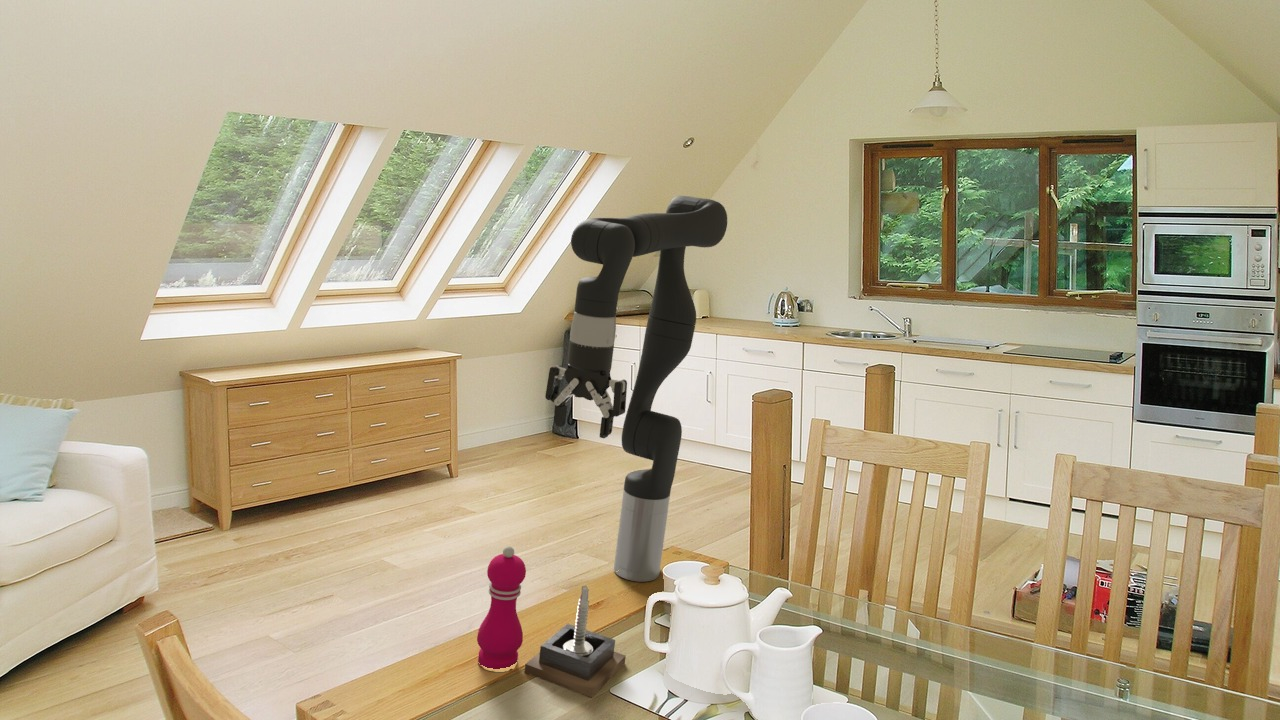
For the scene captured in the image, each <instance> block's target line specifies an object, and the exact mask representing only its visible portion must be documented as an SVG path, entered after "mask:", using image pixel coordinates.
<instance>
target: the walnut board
mask: <svg viewBox="0 0 1280 720" xmlns="http://www.w3.org/2000/svg"><path fill="white" fill-rule="evenodd" d="M539 656H540V651H539V652H538V653H537V654H536V655H534V656H533V657H531V659H529V660H528V661H527V662H526V663H525V665H524V673H525V674H527V675H531V676H533V677H536V678H537V679H541V680H543V681H546V682H548V683H551V684H554V685H557V686H560V687H562V688H564V689H567V690H570V691H573V692H576V693H578V694H580V695H584V696H586V697H589V698H590V699H591V698H593V697H594V696H595V695H596V694H597V693H598V692H599V690H601V689H602V688H603V687H604V686H605V685H606V683H607V682H608V681H609V680H610V679H612V677H613V676H615V674H617V672H618V671H619V670H620V669H622V668H623V666H625V664H626V658H627V657H626V656H627V655H625V654H623V653H619V652H617V651H614V655H613V657H612V658H611V659H610V660H609V661H608V662H607V663H606V664H605V665H604V666H603V667H602V668H601V669H600V670H599V671H598V672H597V673H596V674H595V675H594V676H593V677H592V678H591V679H590V680H589V681H587V680H584V679H581V678H579V677H576V676H573V675H570V674H568V673H565V672H562V671H560V670H557V669H554V668H551V667H549V666H546V665H543V664H541V663H539ZM589 656H590V655H589ZM589 656H587V657H586V658H588V657H589Z"/></svg>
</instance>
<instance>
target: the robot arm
mask: <svg viewBox="0 0 1280 720" xmlns="http://www.w3.org/2000/svg"><path fill="white" fill-rule="evenodd" d="M727 228H728V213H727V211H726V207H725V206H724V205H723V204H722V203H721V202H719V201H717V200H714V199H710V198H702V197H694V196H690V195H689V196H688V195H676V196H675V197H673V198H672V199H671V201H670V202H669V203H668V205H667V208H666V211H665V212H648V213H647V212H646V213H639V214H634V215H629V216H626V217H592V218H588V219H584V220H583V221H581V222H580V223H578V225H577V226H576V227H575V228H574V230H573V232H572V234H571V238H570V244H571V249H572V251H573V253H574V254H575V255H576V257H578V259H580V260H582V261H584V262H589V263H594V264H598V265H602V266H601V267H602V268H601V269H600V272H599V273H598V275H597V276H586V277H585V276H584V277H583V278H580V280H578V283H577V286H576V296H575V304H574V310H573V311H574V312H573V317H572V321H571V325H570V326H571V327H570V331H569V342H568V353H567V362H566V363H567V367H566V368H565V367H563V366H562V365H561V364H558V365H557V364H556V365H554V366H551V367H550V368H549V372H548V376H547V377H548V378H547V383H546V384H547V385H546V390H545V399H546V401H551V402H552V403H553V404H554V415H553V421H554V423H555V427H558V428H562V427H564V426H565V425H566V421H567V419H566V417H567V411H568V404H566V403H567V402H568V401H569V400H570V399H571V398H572V397H573V396H574V397H575V398H579V399H580V398H584V399H585V400H587V401H594V404H595V406H596V407H598V408H599V411H600V412H601V415H602V417H601V421H600V428H599V429H600V430H599V438H600V439H607V438H609V435H611V434H612V432H613V426H614V418H615V417H616V418H617V417H619V416H621V415H623V414H625V413H626V414H625V418H624V421H623V426H622V432H621V447H622V449H623V451H624V452H626V453H627V454H630V455H633V456H636V457H638V458H639V457H640V458H643V459H646V460H650V461H652V466H651V468H648V469H638V470H634V471H630V472H629V473H627V474H626V476H625V479H624V484H623V491H622V492H623V493H622V499H621V508H620V518H619V524H618V530H617V531H618V532H617V539H616V549H615V557H614V566H613V572H614V573H615V574H616V575H617V576H619V577H620V578H623V579H625V580H627V581H632V582H638V583H641V582H651V581H654V580H657V579H658V578H659V576H660V571H661V563H662V558H663V550H664V543H665V535H666V529H667V520H668V513H669V512H668V511H669V504H670V498H671V497H670V496H671V493H672V492H671V491H672V486H673V482H674V479H675V475H676V469H677V462H678V459H679V458H678V457H679V452H680V448H681V443H682V432H683V429H682V423H681V421H680V419H679V418H678V417H675V416H672V415H668V414H664V413H660V412H657V411H653V410H652V407H653V402H654V401H655V400H654V399H655V396H656V394H657V392H658V390H659V388H660V387H661V385H662V384H663V383H664V381H665V380H666V379H667V378H668V377H669V375H670V374H671V373H673V371H675V370H676V368H677V367H678V366H679V365H680V364H681V363H682V361H683V360H685V358H686V357H687V355H688V353H690V350H691V347H692V343H693V340H694V339H693V338H694V334H695V330H696V325H697V311H696V310H697V309H696V306H695V303H694V299H693V296H692V293H691V290H690V288H689V285H688V283H687V280H686V274H685V254H686V247H697V248H712V247H716V246H717V245H718V244H719V243H720V242H721V241H722V240H723V238H724V237H725V234H726V231H727ZM656 252H659V258H658V268H657V275H656V280H655V285H654V290H653V296H652V301H651V303H650V310H649V314H648V318H647V322H646V328H645V333H644V340H643V343H642V344H643V346H642V351H641V354H640V355H641V356H640V360H639V366H638V370H637V371H638V372H637V376H636V379H635V382H634V387H633V389H632V392H631V393H632V394H631V397H630V400H629V404H628V407H627V411H626V404H627V391H628V381H627V380H626V379H621V380H618V379H612V377H611V370H612V365H613V355H614V348H615V339H616V333H617V332H616V331H617V328H616V327H617V326H616V325H617V322H616V321H617V310H618V308H617V307H618V301H619V294H620V290H621V288H622V285H623V283H624V279H625V276H626V274H627V271H628V269H629V267H630V265H631V262H632V261H633V260H632V259H633V258H636V257H641V256H645V255H647V254H651V253H656ZM563 378H565V380H566V384H567V385H566V386H565V387H564V389H563V390H562V391H561V392H559V391H560V387H561V381H562V380H563ZM610 387H611V392H612V393H613V400H612V399H611V397H610V395H609V392H608V389H609V388H610ZM559 393H560V394H559ZM612 401H613V403H612ZM618 570H619V571H618ZM616 571H618V572H616Z"/></svg>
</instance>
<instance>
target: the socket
mask: <svg viewBox="0 0 1280 720" xmlns="http://www.w3.org/2000/svg"><path fill="white" fill-rule="evenodd" d="M575 626H576V625H574V624H573V625H572V624H570V623H566V624H565V625H564V626H563V627H561V628H560V629H559V630H558V631H556V632H555V633H554V634H553V635H552V636H551V637H550V638H548V639H547V640H546V641H544V642H543V643H542V644H541V645H540V647H539V649H540V650H539V652H540V656H539V663H541V664H543V665H546V666H549V667H551V668H554V669H557V670H560V671H562V672H565V673H568V674H570V675H573V676H576V677H579V678H581V679H584V680H587V681H589V680H590V679H591V678H592V677H593V676H594V675H595V674H596V673H597V672H598V671H599V670H600V669H601V668H602V667H603V666H604V665H605V664H606V663H607V662H608V661H609V660H610V659H611V658H612V657H613V655H614V652H615V646H616V639H613V638H610V637H608V636H604V635H602V634H599V633H596V632H593V631H591V630H587V629H586V634H585V641H586V642H588V643H589V644H591V645H592V647H593V653H592V654H591V655H590V656H589V657H588V658H586V657H583V656H580V655H578V654H575V653H572V652H569V651H566V650H564V649H563V645H564V644H565V643H566V642H568V641H569V640H573V639H575V638H574V636H575V634H574V633H575V629H576V628H575Z"/></svg>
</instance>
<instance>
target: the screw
mask: <svg viewBox="0 0 1280 720" xmlns="http://www.w3.org/2000/svg"><path fill="white" fill-rule="evenodd" d="M589 591H590V590H589V588H588V586H587V585H583V586H581V592H580V595H579V598H578V602H577V604H578V605H577V609H576V611H577V612H576V616H575V617H576V618H575V623H574V624H575V625H574V626H575V628H576V629H575V633H574V634H575V636H574V638H575V639H573V640H569V641H568V642H566V643H565V644H564V645H563V649H564V650H566V651H569V652H572V653H575V654H578V655H580V656H583V657H587V656H589V655H591V654H592V653H593V647H592V645H591V644H589V643H588V642H586V641H585V634H586V630H587V624H588V622H587V621H588V618H589V607H590V601H589Z"/></svg>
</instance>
